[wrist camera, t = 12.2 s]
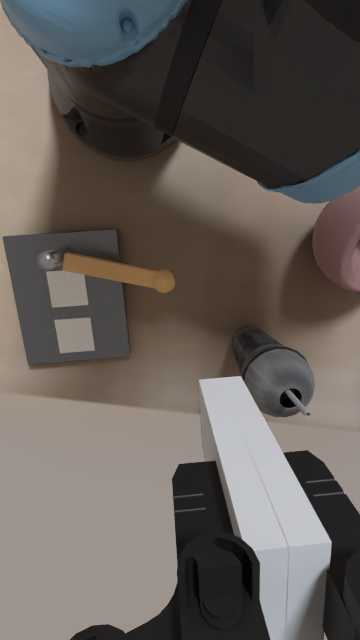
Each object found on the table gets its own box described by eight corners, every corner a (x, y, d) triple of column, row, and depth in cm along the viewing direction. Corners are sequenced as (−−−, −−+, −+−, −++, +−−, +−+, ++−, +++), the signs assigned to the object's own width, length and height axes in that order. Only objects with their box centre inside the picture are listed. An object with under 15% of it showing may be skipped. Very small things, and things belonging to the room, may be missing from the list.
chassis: (6, 236, 41) (-27, 239, 33) (117, 229, 41) (108, 231, 34) (31, 360, 45) (6, 388, 38) (130, 352, 46) (125, 378, 38)
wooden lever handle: (65, 271, 38) (61, 273, 36) (68, 249, 37) (64, 250, 36) (171, 291, 39) (172, 295, 38) (176, 271, 39) (176, 273, 37)
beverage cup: (232, 374, 48) (283, 477, 29) (213, 328, 46) (255, 407, 27) (281, 354, 48) (365, 445, 28) (264, 307, 45) (343, 371, 26)
